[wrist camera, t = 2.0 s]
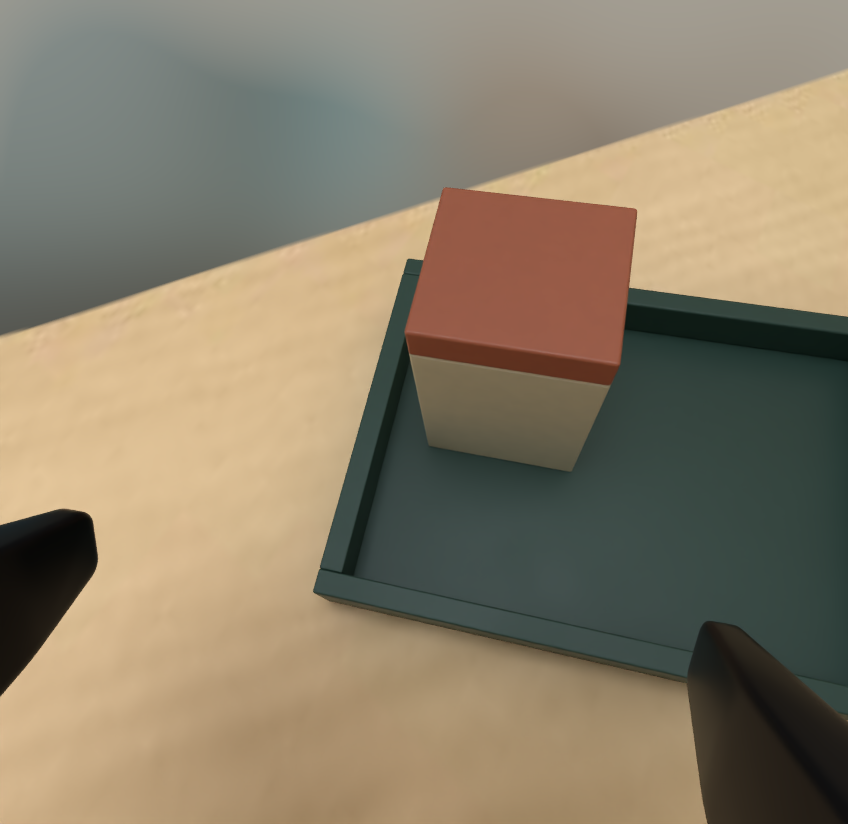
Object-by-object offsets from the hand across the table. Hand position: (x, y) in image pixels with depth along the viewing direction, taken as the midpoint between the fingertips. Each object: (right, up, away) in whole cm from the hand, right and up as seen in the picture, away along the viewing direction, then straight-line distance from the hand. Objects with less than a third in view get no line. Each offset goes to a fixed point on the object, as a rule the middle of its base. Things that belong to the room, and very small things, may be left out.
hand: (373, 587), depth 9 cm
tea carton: (+4, +3, +15) cm, 16 cm away
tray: (+8, 0, +14) cm, 16 cm away
